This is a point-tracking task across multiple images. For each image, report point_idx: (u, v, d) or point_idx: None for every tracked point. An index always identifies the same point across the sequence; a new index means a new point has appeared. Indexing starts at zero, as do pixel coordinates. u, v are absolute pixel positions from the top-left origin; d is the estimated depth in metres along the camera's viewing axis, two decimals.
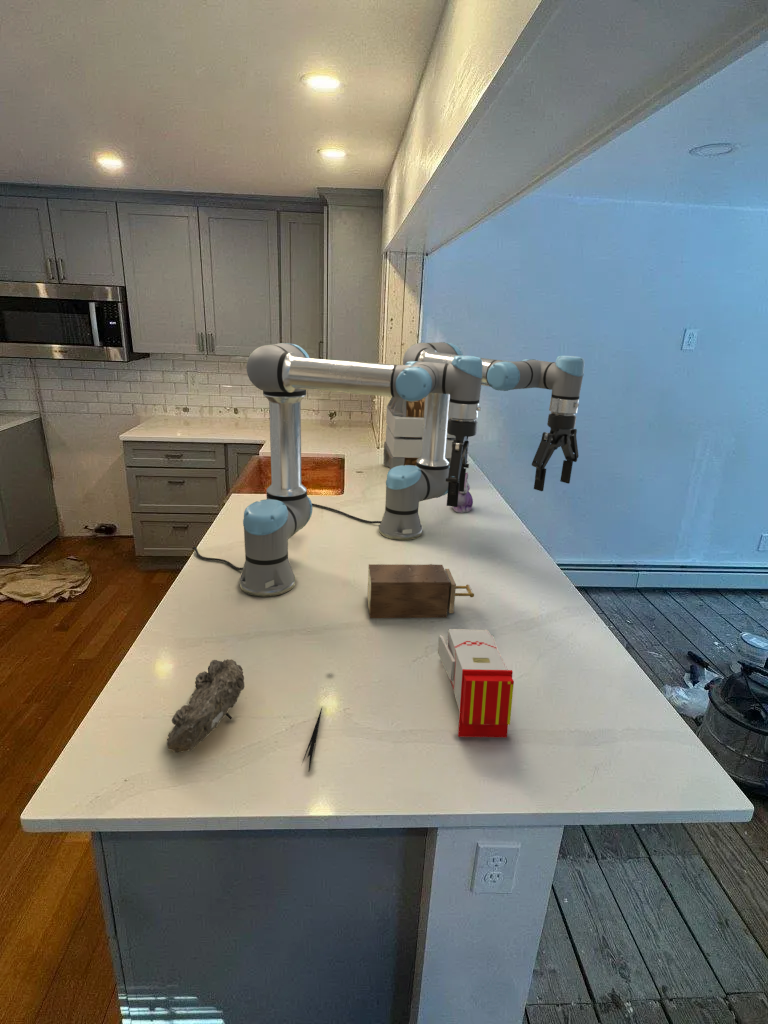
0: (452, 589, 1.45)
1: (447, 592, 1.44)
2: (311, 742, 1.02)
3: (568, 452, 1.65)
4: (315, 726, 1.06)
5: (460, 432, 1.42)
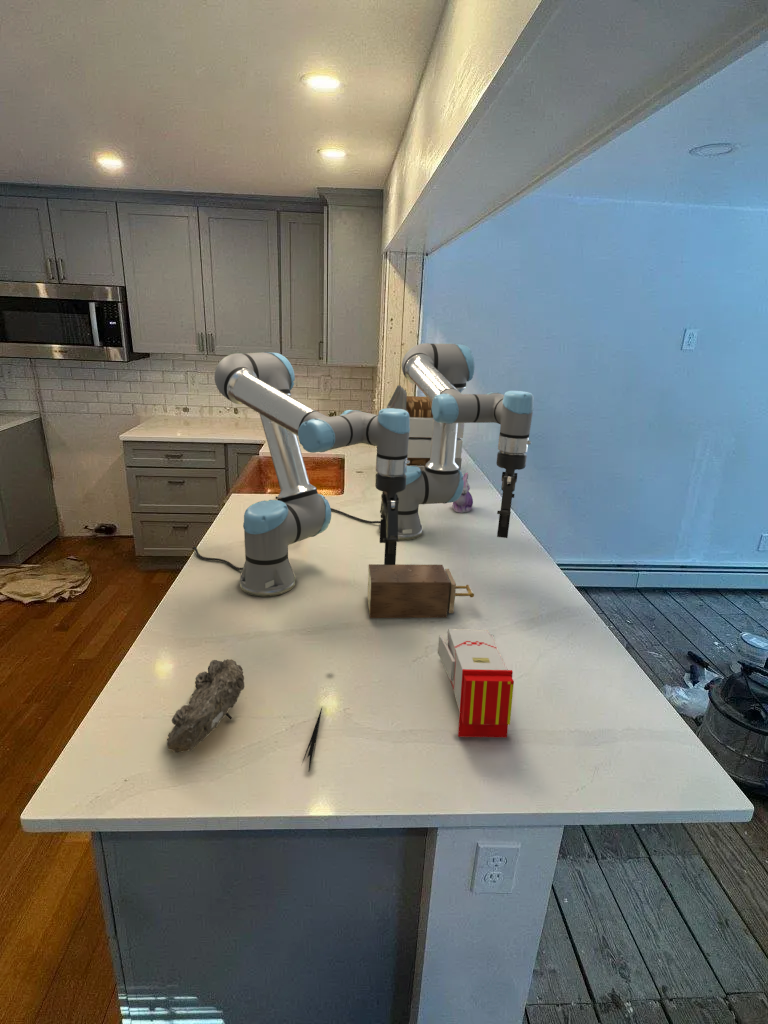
0: (452, 589, 1.45)
1: (447, 592, 1.44)
2: (311, 742, 1.02)
3: None
4: (315, 726, 1.06)
5: (392, 489, 1.36)
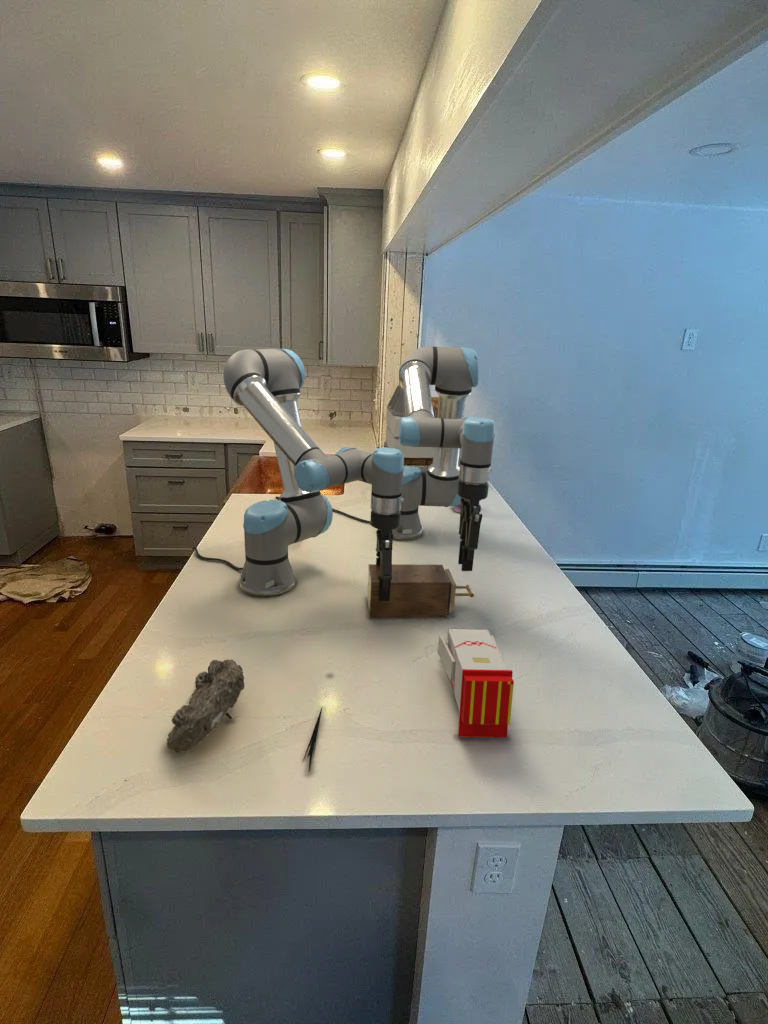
0: (452, 589, 1.45)
1: (447, 592, 1.44)
2: (311, 742, 1.02)
3: None
4: (315, 726, 1.06)
5: (387, 526, 1.38)
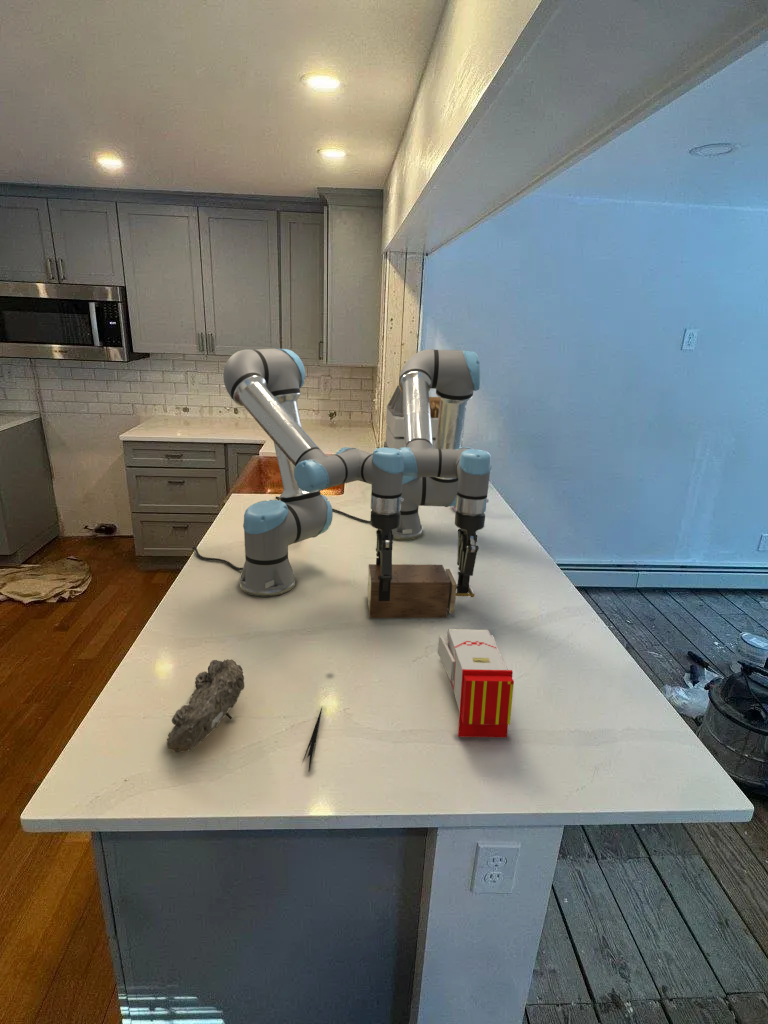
0: (453, 589, 1.45)
1: (447, 592, 1.44)
2: (311, 742, 1.02)
3: None
4: (315, 726, 1.06)
5: (387, 526, 1.38)
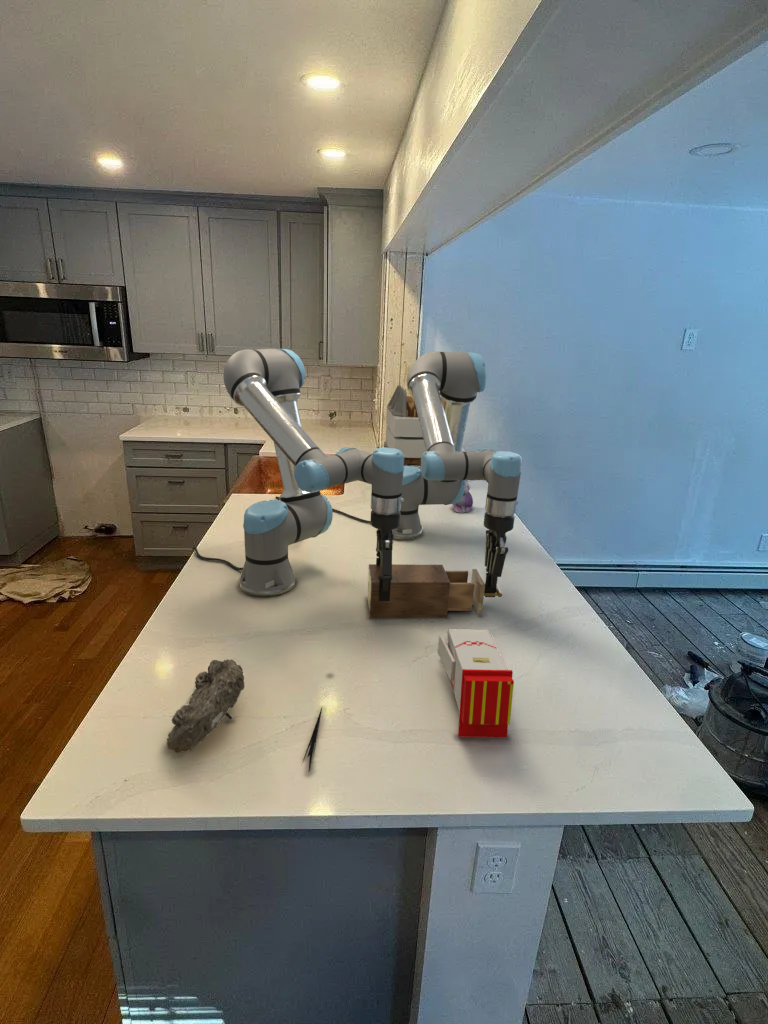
0: (481, 589, 1.46)
1: (447, 592, 1.44)
2: (311, 742, 1.02)
3: None
4: (315, 726, 1.06)
5: (387, 526, 1.38)
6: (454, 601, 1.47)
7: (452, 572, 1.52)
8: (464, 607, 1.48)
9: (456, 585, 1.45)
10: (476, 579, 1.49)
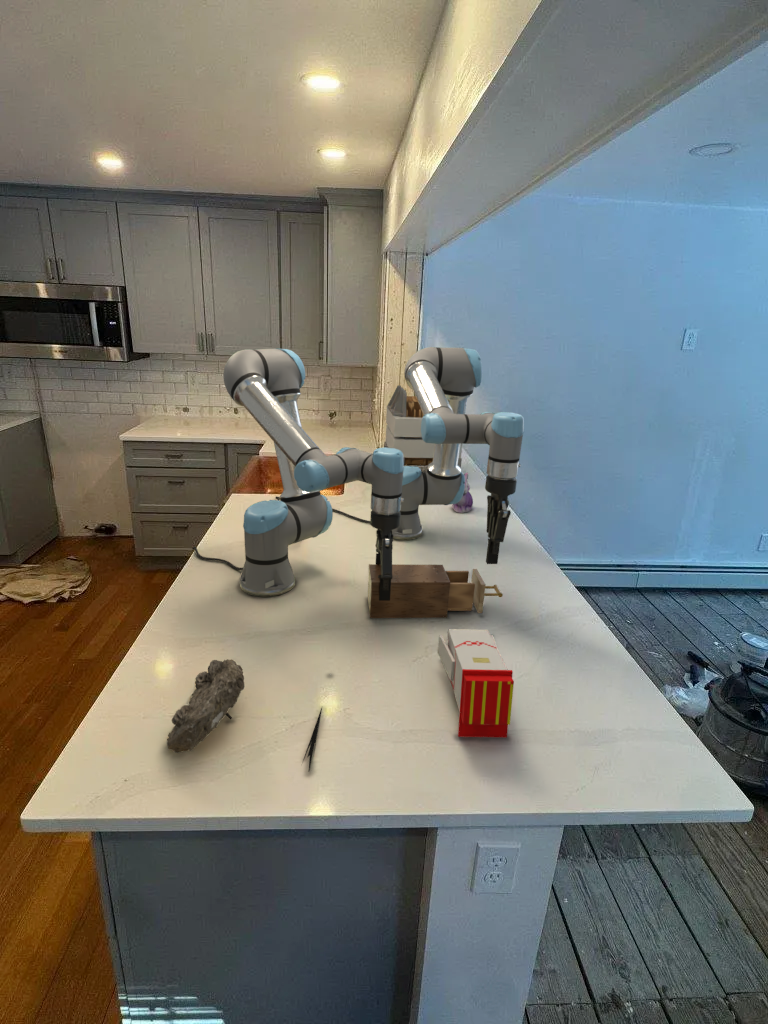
0: (481, 589, 1.46)
1: (447, 592, 1.44)
2: (311, 742, 1.02)
3: None
4: (315, 726, 1.06)
5: (387, 526, 1.38)
6: (455, 600, 1.47)
7: (452, 572, 1.52)
8: (464, 607, 1.48)
9: (456, 585, 1.45)
10: (476, 579, 1.49)
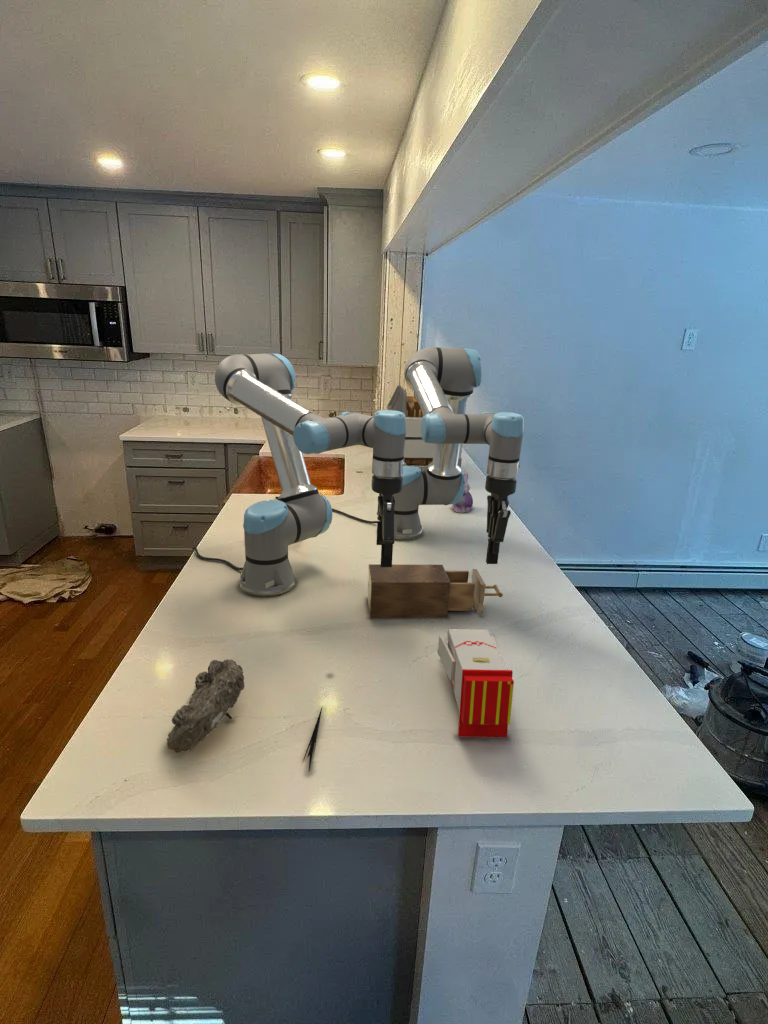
0: (481, 589, 1.46)
1: (447, 592, 1.44)
2: (311, 742, 1.02)
3: None
4: (315, 726, 1.06)
5: (388, 491, 1.35)
6: (455, 600, 1.47)
7: (452, 572, 1.52)
8: (464, 607, 1.48)
9: (456, 585, 1.45)
10: (476, 579, 1.49)
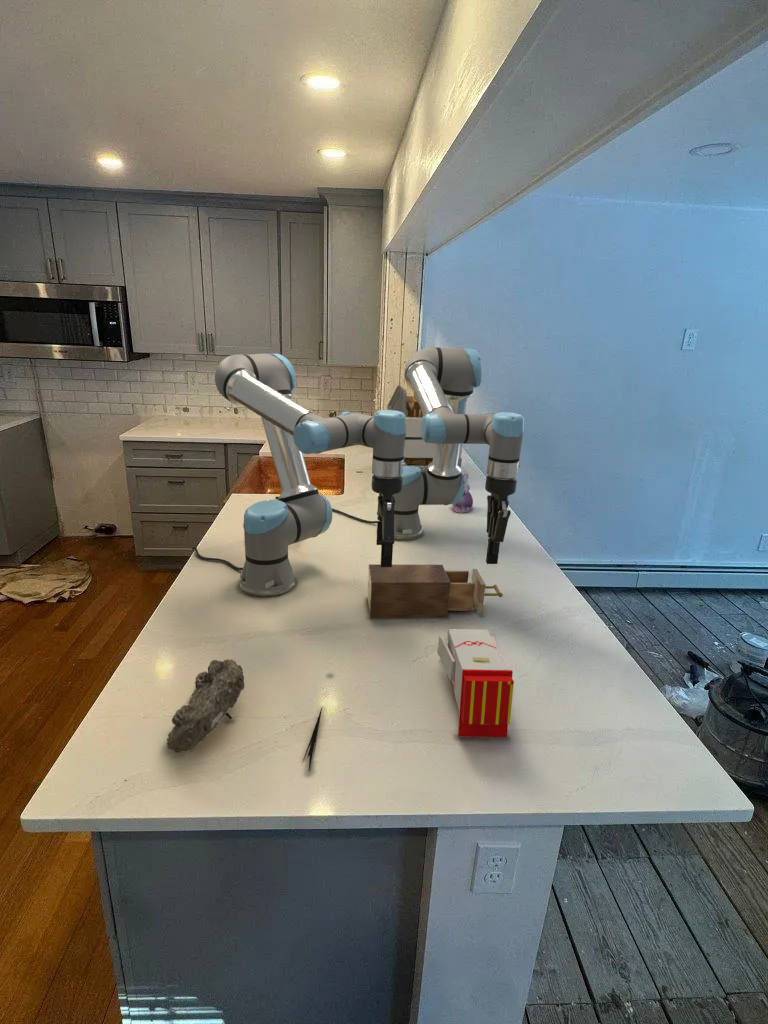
0: (481, 589, 1.46)
1: (447, 592, 1.44)
2: (311, 742, 1.02)
3: None
4: (315, 726, 1.06)
5: (388, 491, 1.35)
6: (455, 600, 1.47)
7: (452, 572, 1.52)
8: (464, 607, 1.48)
9: (456, 585, 1.45)
10: (476, 579, 1.49)
